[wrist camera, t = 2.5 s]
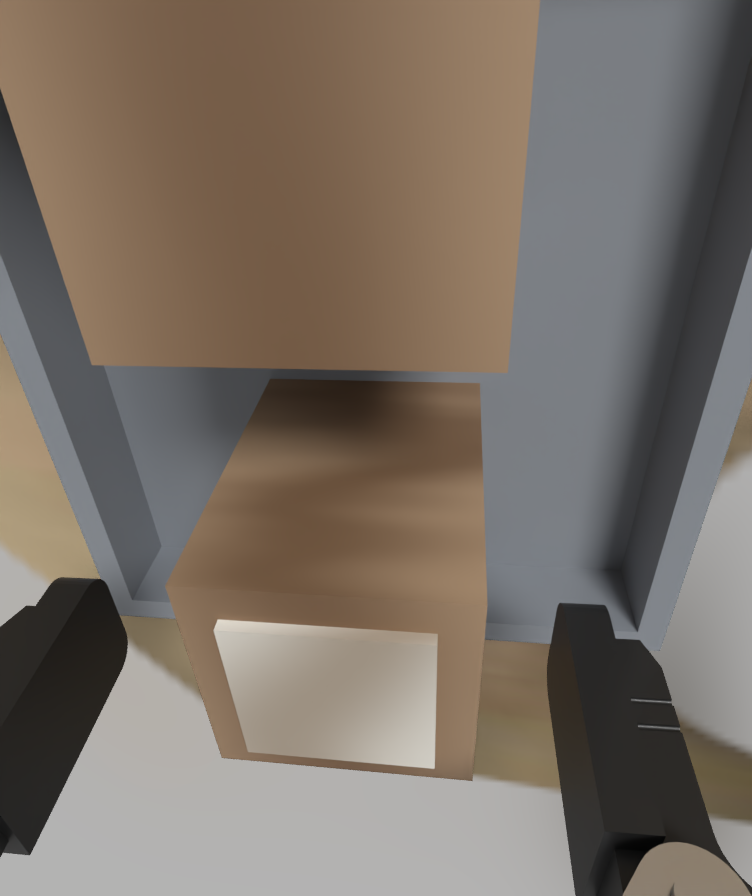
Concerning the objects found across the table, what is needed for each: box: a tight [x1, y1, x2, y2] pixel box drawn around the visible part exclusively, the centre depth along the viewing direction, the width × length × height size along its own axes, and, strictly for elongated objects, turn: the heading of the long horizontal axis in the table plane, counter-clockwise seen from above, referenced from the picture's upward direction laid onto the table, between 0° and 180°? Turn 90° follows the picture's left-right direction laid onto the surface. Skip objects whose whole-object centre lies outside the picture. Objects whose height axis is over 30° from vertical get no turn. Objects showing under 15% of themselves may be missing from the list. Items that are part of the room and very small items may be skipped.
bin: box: [0, 0, 752, 651], centre depth 12 cm, size 13×15×2 cm
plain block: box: [0, 0, 540, 373], centre depth 8 cm, size 4×4×6 cm
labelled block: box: [165, 379, 487, 781], centre depth 12 cm, size 4×4×6 cm
